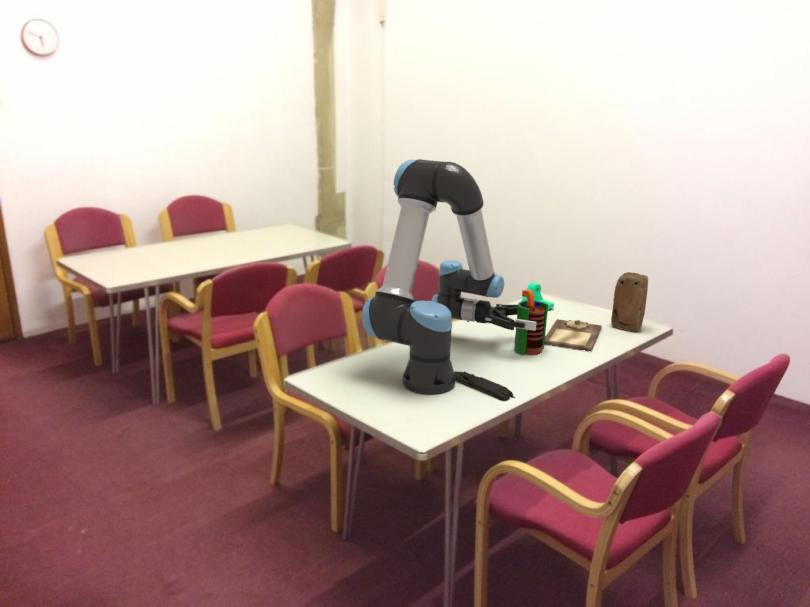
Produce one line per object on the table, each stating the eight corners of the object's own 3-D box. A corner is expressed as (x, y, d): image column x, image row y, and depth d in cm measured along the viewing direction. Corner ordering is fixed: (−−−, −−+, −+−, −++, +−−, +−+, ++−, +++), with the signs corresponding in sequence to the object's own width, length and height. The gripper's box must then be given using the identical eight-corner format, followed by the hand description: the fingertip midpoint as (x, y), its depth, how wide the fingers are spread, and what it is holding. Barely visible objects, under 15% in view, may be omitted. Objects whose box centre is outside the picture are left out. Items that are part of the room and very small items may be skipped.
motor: (533, 358, 214) (538, 298, 208) (508, 351, 219) (512, 292, 213) (547, 349, 221) (552, 290, 215) (523, 343, 227) (527, 285, 221)
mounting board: (542, 344, 226) (542, 335, 225) (556, 322, 248) (557, 313, 247) (591, 351, 220) (591, 342, 219) (601, 328, 242) (602, 320, 241)
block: (644, 328, 242) (651, 274, 236) (637, 334, 237) (644, 279, 231) (615, 322, 249) (621, 269, 243) (607, 327, 243) (613, 273, 237)
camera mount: (534, 315, 255) (536, 289, 252) (519, 310, 261) (520, 284, 258) (554, 309, 262) (557, 284, 259) (539, 305, 268) (541, 280, 265)
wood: (522, 396, 188) (522, 386, 187) (505, 403, 183) (506, 393, 182) (462, 372, 203) (463, 363, 202) (446, 379, 198) (446, 369, 197)
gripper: (486, 311, 236) (547, 319, 228) (464, 333, 214) (530, 343, 206) (488, 290, 233) (549, 298, 225) (465, 310, 211) (532, 320, 203)
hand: (540, 319), depth 216 cm, fingers open, 13 cm apart
